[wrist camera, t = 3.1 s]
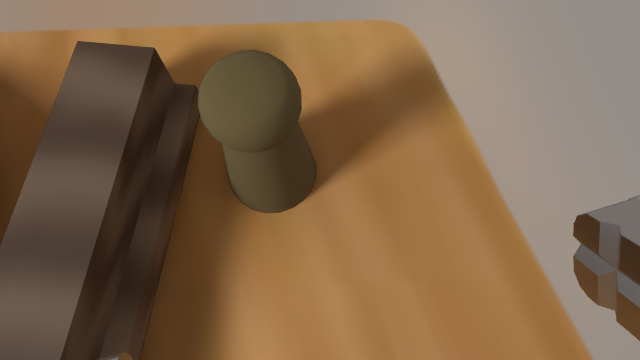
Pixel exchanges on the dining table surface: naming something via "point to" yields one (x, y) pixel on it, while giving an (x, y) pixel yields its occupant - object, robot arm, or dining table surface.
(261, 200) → the olive pawn
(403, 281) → the dining table surface
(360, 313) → the dining table surface
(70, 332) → the ridge stand
